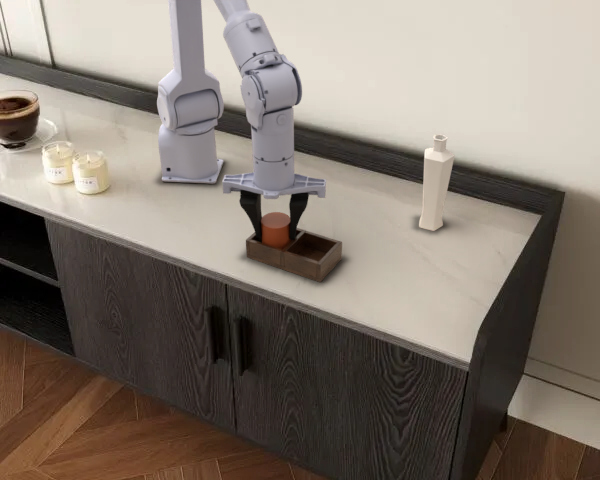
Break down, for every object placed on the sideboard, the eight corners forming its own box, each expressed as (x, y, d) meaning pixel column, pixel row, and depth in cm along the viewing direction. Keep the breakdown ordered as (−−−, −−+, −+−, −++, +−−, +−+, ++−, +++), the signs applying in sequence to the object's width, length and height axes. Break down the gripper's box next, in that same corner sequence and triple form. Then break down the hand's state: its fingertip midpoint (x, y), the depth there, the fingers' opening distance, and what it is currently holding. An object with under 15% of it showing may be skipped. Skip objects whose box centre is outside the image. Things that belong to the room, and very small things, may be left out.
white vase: (427, 212, 123) (436, 127, 114) (449, 223, 120) (460, 136, 111) (409, 223, 120) (417, 137, 111) (431, 234, 118) (441, 147, 109)
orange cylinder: (259, 250, 112) (258, 227, 110) (264, 233, 115) (262, 211, 113) (289, 251, 112) (289, 229, 109) (292, 235, 115) (292, 212, 113)
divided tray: (246, 257, 114) (245, 240, 112) (270, 235, 118) (269, 218, 116) (320, 282, 109) (320, 265, 107) (341, 258, 113) (342, 241, 111)
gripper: (215, 164, 102) (223, 247, 110) (323, 168, 100) (322, 252, 109) (225, 139, 107) (231, 221, 116) (327, 143, 106) (326, 225, 114)
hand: (276, 234), depth 113 cm, fingers closed on orange cylinder, 4 cm apart
